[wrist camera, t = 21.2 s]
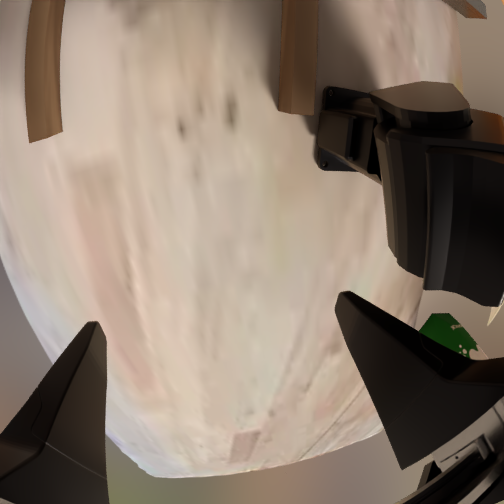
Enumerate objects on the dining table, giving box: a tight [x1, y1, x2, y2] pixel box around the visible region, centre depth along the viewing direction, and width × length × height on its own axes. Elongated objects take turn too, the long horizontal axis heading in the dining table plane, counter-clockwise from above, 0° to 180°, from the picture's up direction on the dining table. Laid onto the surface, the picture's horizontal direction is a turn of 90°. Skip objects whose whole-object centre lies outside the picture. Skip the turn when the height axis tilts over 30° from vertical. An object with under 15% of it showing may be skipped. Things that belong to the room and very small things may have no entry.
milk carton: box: [419, 313, 489, 360], centre depth 32 cm, size 9×9×20 cm
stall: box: [25, 0, 318, 143], centre depth 11 cm, size 18×15×2 cm
